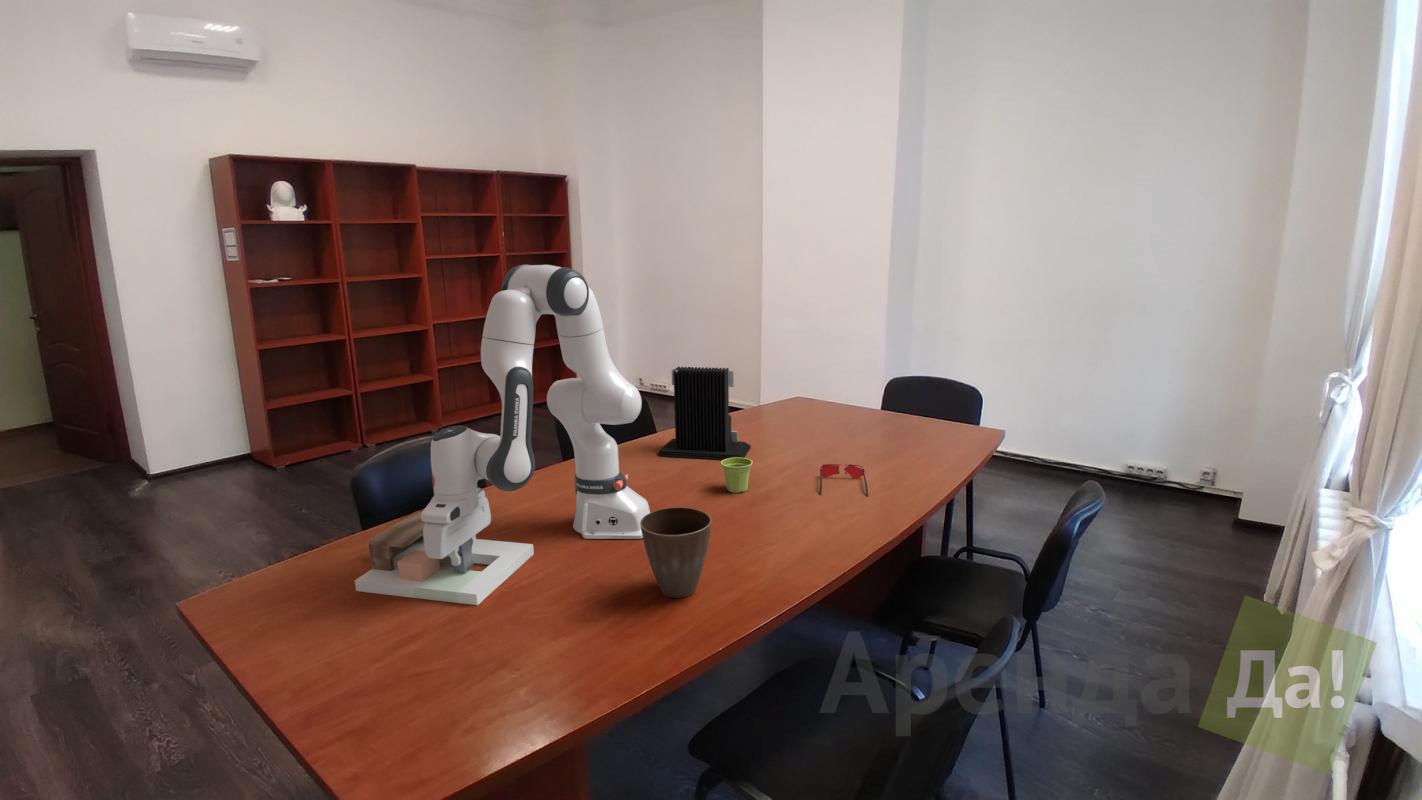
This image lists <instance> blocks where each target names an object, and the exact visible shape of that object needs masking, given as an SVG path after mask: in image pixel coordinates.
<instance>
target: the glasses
mask: <svg viewBox="0 0 1422 800" xmlns="http://www.w3.org/2000/svg"><path fill="white" fill-rule="evenodd" d="M840 466H841V464H836V463H833V464H832V463H831V464H830V463H827V464H824V463H823V464H822V465H821V466H820V469H819V496H822V490H823V478H824V479H825V478H828V477H830V476H831V477H832V476H834V475H840V472H841V471H840ZM843 470H844V474H845V475H847V474H848V475H849V476H850V477H851V478H852V479H853V480H854V479H855V480H856V479H859V478H861V477H863V480H864V485H865V487H864V488H865V494H866V497H867V498H868V497H869V490H868V483H867V479H866V478H867V477H866V474H865V469H864V467H862V466H861V465H858V464H851V463H850V464H847V465H846V466H845V467H844V468H843Z"/></svg>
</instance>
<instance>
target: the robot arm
mask: <svg viewBox="0 0 1422 800" xmlns="http://www.w3.org/2000/svg"><path fill="white" fill-rule="evenodd" d="M542 315H553V316H554V318H555V325H556V330H557V336H558V341H559V346H560V351H561V356H562V360H563V362H564V364H565V366H566V367H567V368H568V369H570V370H571V371H572V372H573V373H575V374H577V375H578V376H579V377H580V378H578V377H577V378H576V377H571V378H564V379H560V380H558V379H557V380H556V381H554V382H553V383H552V385H550V387H549V389H548V391H547V395H546V404H547V407H548V410H549V411H550V413H551V414H552V415H553V416H554V417H556V419H557V420H559V422H560V423H561V424H562V426H563V427H564V429H565V430H566V432H567V434H568V436H569V439H570V441H571V444H572V447H573V452H574V453H573V454H574V455H573V456H574V463H575V474H574V488H575V494H576V508H575V516H574V521H573V524H572V528H573V530H574V531H575V532H577V533H578V534H581V537H582V538H583V539H585V540H587V539H589V540H590V539H591V540H592V539H593V540H595V539H596V540H597V539H599V540H601V539H602V540H603V539H604V540H605V539H606V540H608V539H611V540H612V539H613V540H616V539H617V540H618V539H619V540H620V539H622V540H623V539H624V540H629V539H630V540H639V539H643V536H642V531H641V526H640V522H641V519H642V518H643V517H644V516H646V515H647V514H649V513H651V510H650V505H649V502H648V501H647V499H646V498H644V496H642V495H640V494H638V492H637V491H634V490H633V488H630V487H629V486H628V485H627V480H628V479H629V474H628V473H627V474H625V475H623V473H622V472H621V471H620V466H619V465H620V464H619V447H618V444H617V441H616V439H615V438H613V437H612V436H611V435H609V434H608V433H607V432H606V431H605V430H604V429H603V427H602V426H601V424H602V425H603V424H604V425H613V426H614V425H615V426H616V425H624V424H629V423H630V424H631V423H633V422H635V420H636V419H638V416H639V415H640V414H641V412H642V411H641V410H642V404H643V403H642V402H643V401H642V396H641V393H640V391H639V390H638V388H637V387H636V386H635V385H634V384H632V383H630V382H629V381H628V380H627V379H626V378H625V377H624V376H623V375H622V374H621V373H620V372H619V370H618V369H617V367H616V365H615V363H614V362H613V359H612V358H611V355H610V352H609V348H608V344H607V340H606V339H607V338H606V335H605V329H604V324H603V318H602V315H601V310H600V307H599V304H598V301H597V298H596V295H595V293H594V291H593V290H592V288H590V287H589V284H588V282H587V280H586V278H585V276H584V275H582V274H581V272H579V271H577V270H575V269H573V268H570V267H561V266H558V265H557V266H556V265H552V264H534V265H533V264H520V265H516V266H514V267H512V268H510V269H509V270H508V272H507V273H506V274H505V276H504V278H503V281H502V283H501V287H500V291H498V292H497V293H495V294H494V296H493V297H492V299H491V301H490V304H489V306H488V310H487V313H486V317H485V321H484V326H483V331H482V336H481V338H482V339H481V345H480V361H481V367H482V369H483V371H484V372H485V374H486V375H487V376H488V377H489V379H490V380H491V382H492V383H493V385H494V386H495V387H496V389H497V391H498V393H499V396H500V399H501V419H500V435H498V434H495V433H487V432H486V433H485V432H479V431H476V430H473V429H471V428H469V427H467V426H466V425H462V424H461V425H460V424H459V425H458V424H457V425H451V426H448V427H445V428H442V429H440V430H439V431H437V432H436V433H435V434H434V435H433V437H432V438H431V443H430V466H431V474H432V473H433V476H434V478H435V486H434V491H433V496H432V498H431V500H430V501H429V503H427V505H426V507H425V508H423V510H421V511H422V513H421V520H422V521H423V522H426V523H425V525H424V528H423V538H424V547H425V552H426V555H427V556H428V557H429V558H435V559H443V558H444V557H446V556H447V555H449V557H450V558H451V563H452V565H453V566H458V565H460V564H461V563H462V556H459V554H458V553H457V552H458V551H459V546H461V545H462V544H463V543H465V542H466V541H468V540H469V539H470V544H471V552H472V555H473V554H474V549H473V547H474V544H475V540H476V539H477V536H476V535H477V534H478V533H480V532H481V531H482V530H484V529H485V528H487V527H488V526H489V525H491V523H492V514H491V508H490V504H489V500H488V497H486V493H485V490H484V489H483V488H481V487H478V482H479V480H484V479H485V480H487V481H489V483H491V484H492V485H493V486H494V487H495V488H496V489H499V490H500V491H502V492H514V491H518V490H520V489H522V488H523V487H525V485H527V484H528V483H529V481H530V480H531V479H532V477H533V476H534V473H535V471H536V460H535V455H534V454H535V453H534V451H533V445H532V427H533V425H532V424H533V407H534V406H533V405H534V383H533V357H534V355H533V354H534V349H535V348H534V346H535V345H534V344H535V342H536V341H535V339H536V325H537V322H538V321H539V319H540V317H541V316H542ZM434 495H435V496H434Z"/></svg>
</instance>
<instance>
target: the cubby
mask: <svg viewBox="0 0 1422 800" xmlns="http://www.w3.org/2000/svg"><path fill="white" fill-rule="evenodd" d="M422 511H423V510H416V511H415V512H413V513H411V514H410V515H408V516H406V517H404V518H402V519H401V520H399V521H398V522H396V523H394V524H392V525H391V526H389V527H388V528H386V529H384V530H383V531H381V532H379V533H377V534H376V535H374V536H372V537H370V538H369V539H368V540H367V541H368V542H367V543H368V548H369V557H370V565H371V569H376V570H385V571H392V570H394V563H393V558H394V557H396V556H397V555H399V554H400V553H402V552H403V551H405V550H406V549H408V548H409V547H411V546H412V545H414V544H415V543H417V542H418V541H420V540H421V539H422V540H424V538H423V528H424V525H425V523H426V522H423V521H422V520H421V513H422Z"/></svg>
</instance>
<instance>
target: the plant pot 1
mask: <svg viewBox="0 0 1422 800" xmlns="http://www.w3.org/2000/svg"><path fill="white" fill-rule="evenodd" d="M640 526H641V531H642V536H643V538H642V539H643V544H644V548H645V552H646V555H647V558H648V562H649V565H650V568H651V570H652V574H653V576H654V578H655V581H656V584H657V585H658V588H659V589H660V591H661V593H662V595H664V596H665V597H668V598H672V599H673V598H674V599H675V598H676V599H680V598H685V597H689V596H691V595H692V594H693V593H695V592H696V588H697V587H698V584H699V581H700V578H701V576H702V572H703V568H704V565H705V561H706V557H707V552H708V548H709V547H708V546H709V542H710V535H711V528H712V517H711V516H710V515H709V514H708V513H706V512H705V511H703V510H701V509H696V508H692V507H691V508H690V507H668V508H661V509H657V510H654V511H652V512H651V511H650V513H649V514H647V515H646V516H644V517H643V518H642V519H641V522H640Z"/></svg>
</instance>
